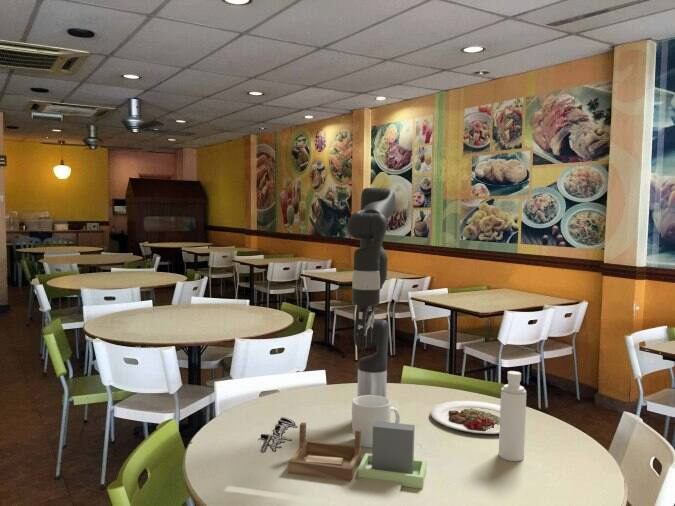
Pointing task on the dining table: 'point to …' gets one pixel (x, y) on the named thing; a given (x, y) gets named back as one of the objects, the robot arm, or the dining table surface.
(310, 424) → the dining table surface
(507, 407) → the white bottle
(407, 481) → the holder
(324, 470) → the tray
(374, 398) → the mug
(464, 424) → the plated food
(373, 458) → the gray rectangular block
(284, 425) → the nameplate
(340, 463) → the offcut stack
